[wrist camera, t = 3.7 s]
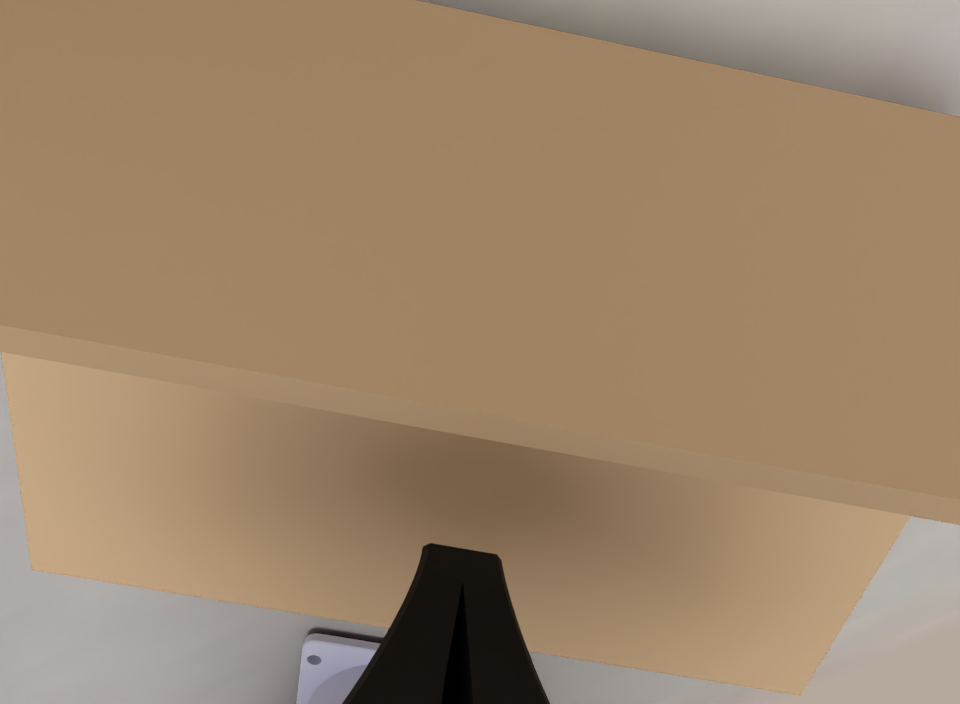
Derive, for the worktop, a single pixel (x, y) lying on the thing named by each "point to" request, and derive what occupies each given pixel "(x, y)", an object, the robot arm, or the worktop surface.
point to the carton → (430, 525)
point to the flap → (489, 237)
